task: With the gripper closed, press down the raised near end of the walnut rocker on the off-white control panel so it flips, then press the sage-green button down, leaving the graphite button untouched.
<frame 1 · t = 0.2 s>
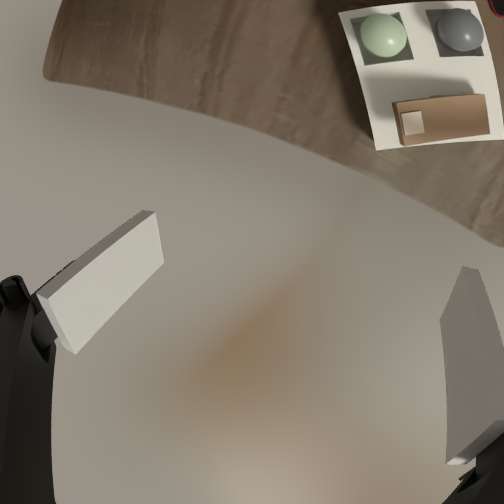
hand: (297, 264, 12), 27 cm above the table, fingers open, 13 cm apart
rocker: (444, 117, 23), point 6 cm above the table, hinge at -14.0°
button sage: (382, 36, 22), point 5 cm above the table, slide at 0.0 cm
panel: (423, 72, 26), on the table
button graphite: (458, 31, 19), point 5 cm above the table, slide at 0.0 cm
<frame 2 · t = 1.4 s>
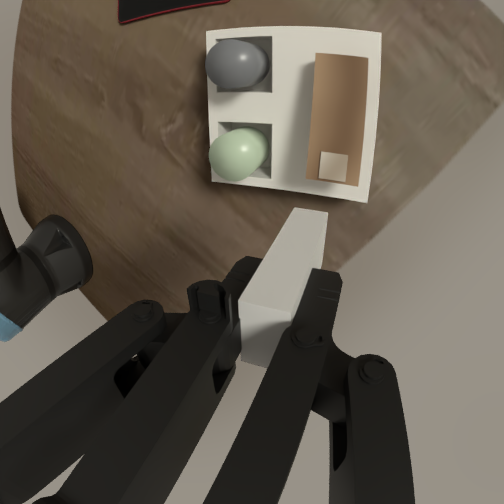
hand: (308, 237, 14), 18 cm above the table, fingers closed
rocker: (338, 117, 22), point 6 cm above the table, hinge at -14.0°
button sage: (240, 152, 27), point 5 cm above the table, slide at 0.0 cm
panel: (298, 105, 28), on the table
button graphite: (238, 64, 23), point 5 cm above the table, slide at 0.0 cm
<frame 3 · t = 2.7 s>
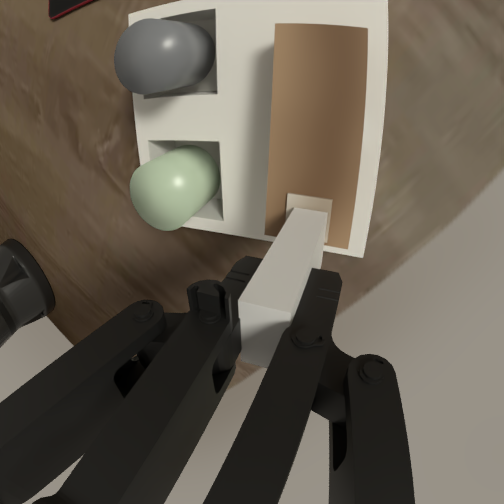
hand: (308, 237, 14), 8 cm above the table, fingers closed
rocker: (317, 132, 13), point 6 cm above the table, hinge at -8.8°, touching gripper
button sage: (175, 185, 19), point 5 cm above the table, slide at 0.0 cm
panel: (264, 109, 19), on the table
button graphite: (165, 55, 14), point 5 cm above the table, slide at 0.0 cm
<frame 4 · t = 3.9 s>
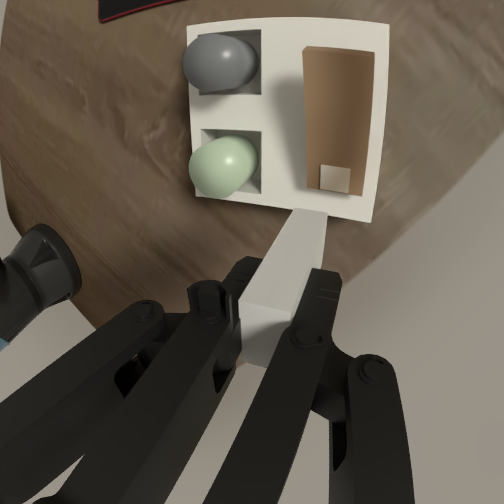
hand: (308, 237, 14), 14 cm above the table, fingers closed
rocker: (338, 125, 18), point 6 cm above the table, hinge at 18.4°
button sage: (225, 164, 24), point 5 cm above the table, slide at 0.0 cm
panel: (292, 109, 25), on the table
button graphite: (222, 62, 20), point 5 cm above the table, slide at 0.0 cm
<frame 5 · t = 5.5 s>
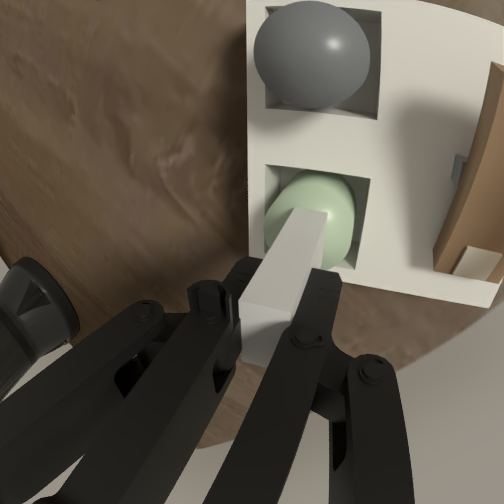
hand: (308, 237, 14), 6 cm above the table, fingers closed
button sage: (313, 217, 16), point 4 cm above the table, slide at 1.3 cm, touching gripper
panel: (396, 139, 16), on the table
button graphite: (318, 56, 11), point 5 cm above the table, slide at 0.0 cm
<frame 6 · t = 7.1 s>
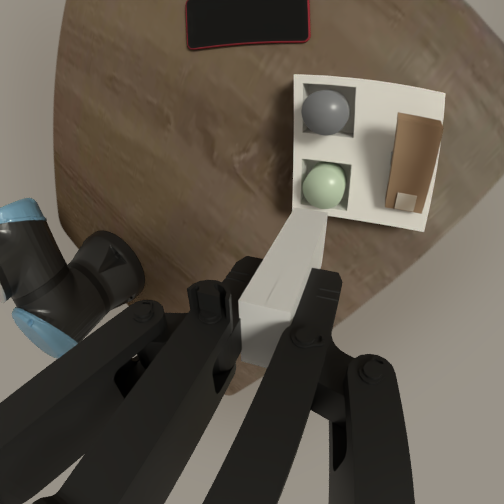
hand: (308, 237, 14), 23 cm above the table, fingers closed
rocker: (412, 167, 26), point 6 cm above the table, hinge at 19.4°, touching panel
button sage: (325, 183, 33), point 4 cm above the table, slide at 1.5 cm
panel: (366, 145, 32), on the table
button graphite: (327, 111, 27), point 5 cm above the table, slide at 0.0 cm
smartphone: (246, 16, 29), on the table
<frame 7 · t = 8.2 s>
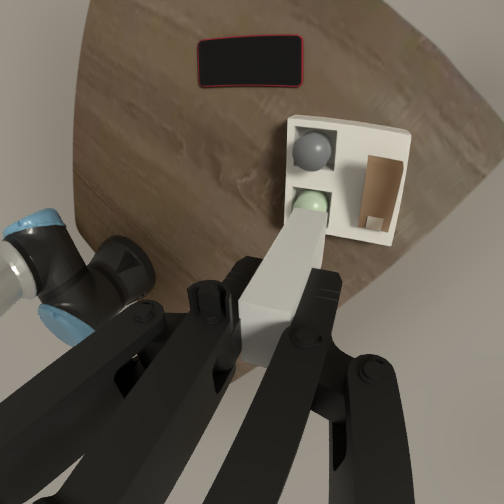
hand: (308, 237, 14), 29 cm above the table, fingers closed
rocker: (379, 196, 34), point 6 cm above the table, hinge at 19.4°, touching panel
button sage: (311, 206, 41), point 4 cm above the table, slide at 1.5 cm
panel: (346, 174, 41), on the table
button graphite: (313, 150, 36), point 5 cm above the table, slide at 0.0 cm
smartphone: (249, 60, 37), on the table
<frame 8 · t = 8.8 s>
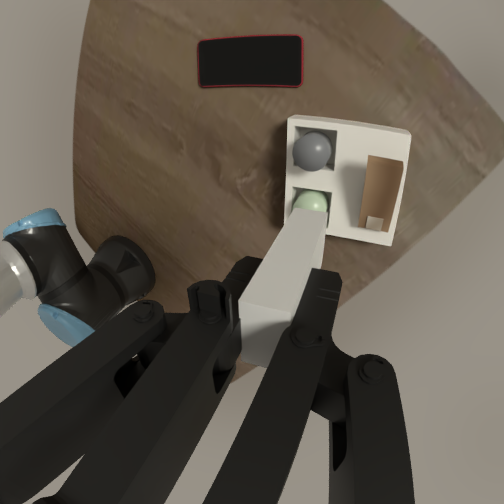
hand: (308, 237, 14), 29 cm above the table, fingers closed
rocker: (379, 196, 34), point 6 cm above the table, hinge at 19.4°, touching panel
button sage: (311, 206, 41), point 4 cm above the table, slide at 1.5 cm
panel: (346, 174, 41), on the table
button graphite: (313, 150, 36), point 5 cm above the table, slide at 0.0 cm
smartphone: (249, 60, 37), on the table
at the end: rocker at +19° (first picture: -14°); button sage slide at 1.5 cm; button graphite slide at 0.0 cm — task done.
